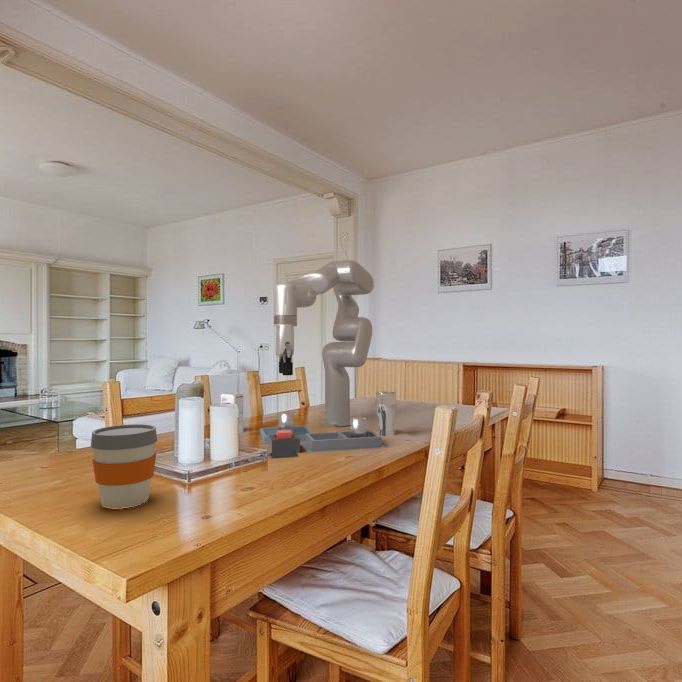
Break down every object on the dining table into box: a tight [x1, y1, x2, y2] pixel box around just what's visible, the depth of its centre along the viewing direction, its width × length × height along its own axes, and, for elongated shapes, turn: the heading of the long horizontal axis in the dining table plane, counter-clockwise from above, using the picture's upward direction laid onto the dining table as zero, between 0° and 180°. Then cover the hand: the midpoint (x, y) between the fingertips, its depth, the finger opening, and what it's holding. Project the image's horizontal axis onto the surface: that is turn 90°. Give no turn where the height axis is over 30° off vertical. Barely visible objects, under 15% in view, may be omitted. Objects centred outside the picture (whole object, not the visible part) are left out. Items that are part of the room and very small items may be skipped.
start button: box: [276, 430, 292, 439], centre depth 140 cm, size 4×4×3 cm
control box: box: [268, 433, 301, 459], centre depth 140 cm, size 8×8×5 cm
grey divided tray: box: [300, 429, 388, 454], centre depth 147 cm, size 13×24×4 cm, turn 104°
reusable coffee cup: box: [90, 423, 158, 508], centre depth 100 cm, size 13×13×15 cm
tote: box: [259, 425, 313, 445], centre depth 159 cm, size 16×16×3 cm
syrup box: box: [220, 392, 244, 435], centre depth 166 cm, size 6×6×14 cm
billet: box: [278, 411, 295, 433], centre depth 159 cm, size 5×5×8 cm
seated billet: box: [349, 416, 368, 438], centre depth 148 cm, size 5×5×8 cm
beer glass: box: [375, 390, 397, 437], centre depth 163 cm, size 7×7×15 cm
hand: (285, 374), depth 158 cm, fingers open, 9 cm apart
